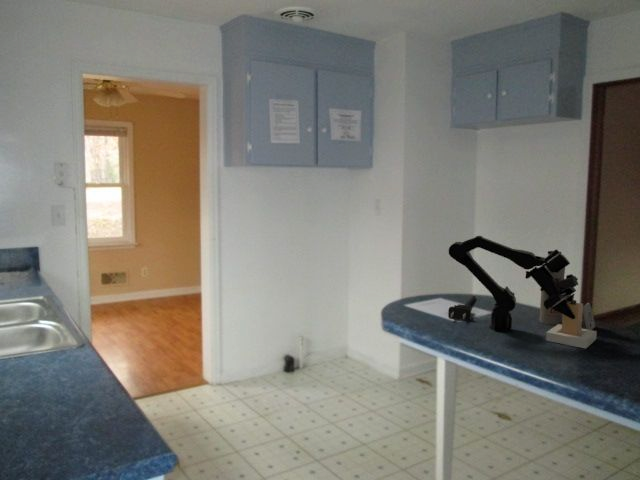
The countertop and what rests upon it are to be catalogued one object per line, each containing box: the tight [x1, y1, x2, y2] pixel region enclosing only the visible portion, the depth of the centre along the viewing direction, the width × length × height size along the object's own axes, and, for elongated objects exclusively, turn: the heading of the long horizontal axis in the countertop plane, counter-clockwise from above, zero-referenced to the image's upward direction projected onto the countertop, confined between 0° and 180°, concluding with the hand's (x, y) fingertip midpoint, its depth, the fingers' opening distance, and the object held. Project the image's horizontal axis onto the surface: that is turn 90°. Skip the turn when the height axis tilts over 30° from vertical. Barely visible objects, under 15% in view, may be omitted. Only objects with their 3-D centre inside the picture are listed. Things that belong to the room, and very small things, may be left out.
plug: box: [561, 299, 584, 336], centre depth 190 cm, size 6×5×12 cm
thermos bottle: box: [539, 250, 566, 326], centre depth 211 cm, size 8×8×28 cm
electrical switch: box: [581, 302, 596, 330], centre depth 204 cm, size 9×5×9 cm, turn 141°
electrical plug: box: [447, 295, 477, 321], centre depth 231 cm, size 9×42×5 cm, turn 156°
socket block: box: [545, 324, 598, 350], centre depth 191 cm, size 13×13×3 cm
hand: (576, 316), depth 189 cm, fingers closed on plug, 5 cm apart
